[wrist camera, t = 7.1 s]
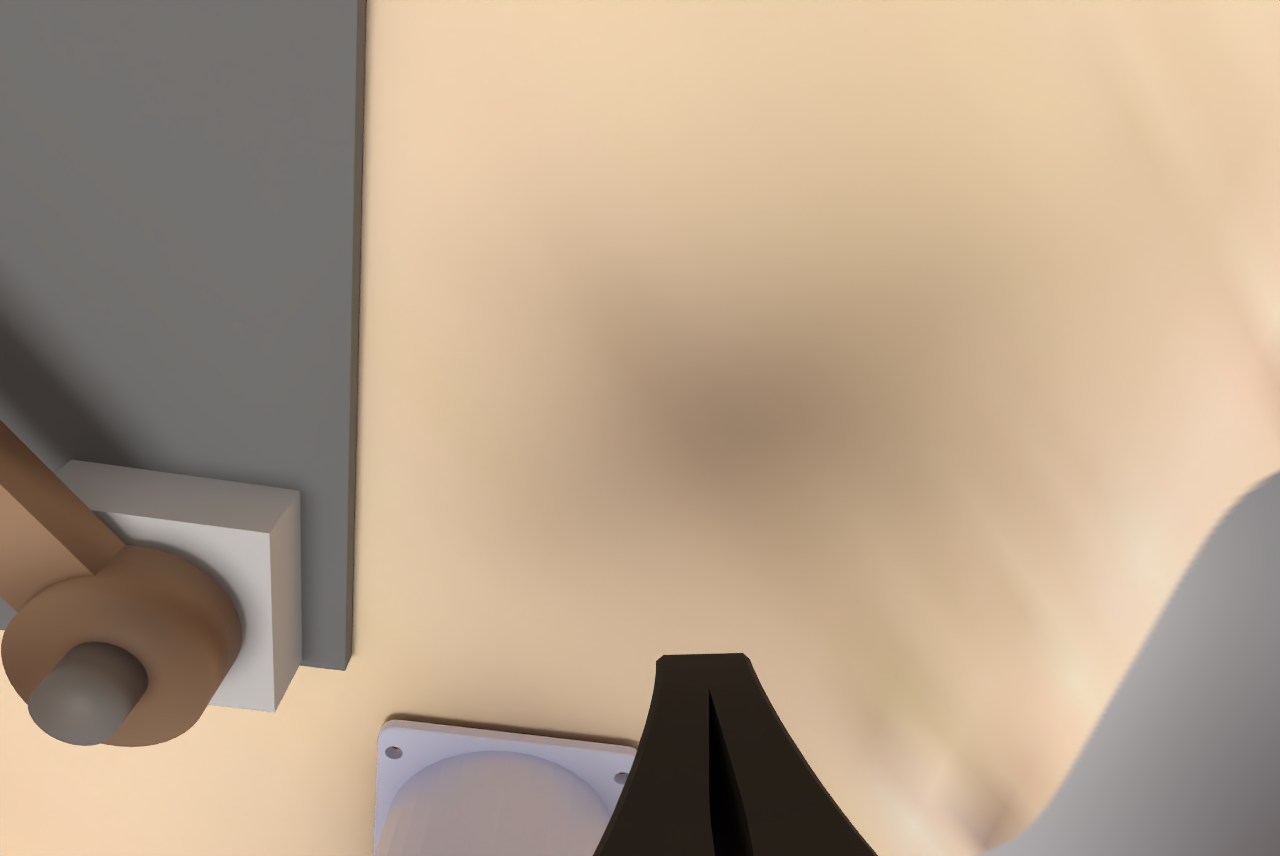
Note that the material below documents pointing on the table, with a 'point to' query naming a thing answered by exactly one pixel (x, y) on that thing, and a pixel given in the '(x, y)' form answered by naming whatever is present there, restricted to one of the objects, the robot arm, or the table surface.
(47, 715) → the lever
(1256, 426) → the table surface
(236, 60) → the plate
